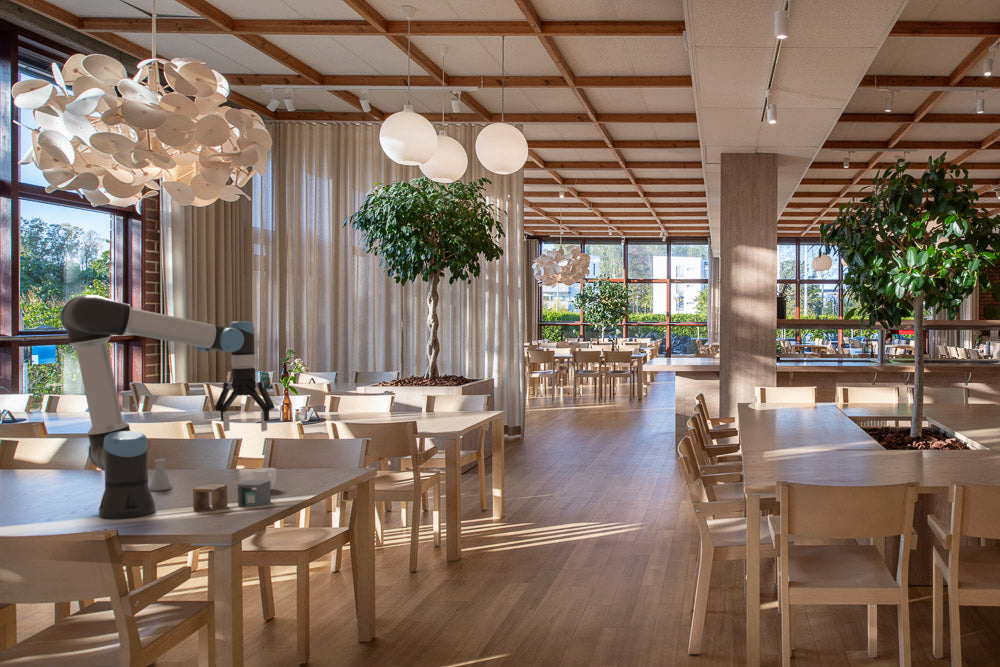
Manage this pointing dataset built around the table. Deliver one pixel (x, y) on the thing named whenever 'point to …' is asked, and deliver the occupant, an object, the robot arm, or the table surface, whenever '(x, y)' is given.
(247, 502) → the letter cube
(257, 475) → the cup
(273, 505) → the table surface
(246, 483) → the box
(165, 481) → the flask
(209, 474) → the table surface
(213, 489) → the cover walnut
